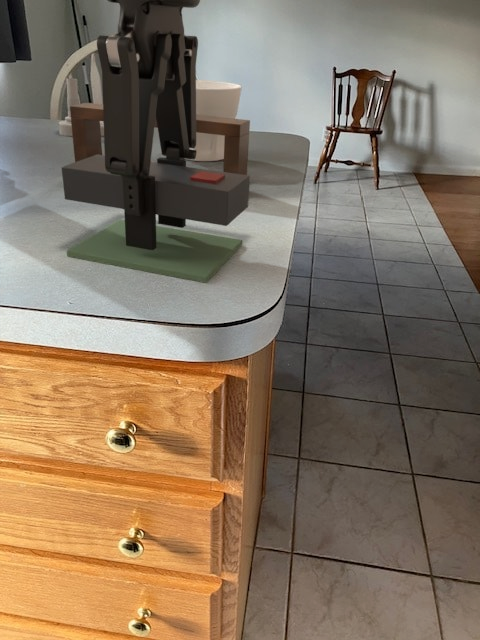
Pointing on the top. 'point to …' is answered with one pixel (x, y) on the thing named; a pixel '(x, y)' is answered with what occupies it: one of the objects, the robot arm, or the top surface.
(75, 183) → the remote
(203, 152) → the cup
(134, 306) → the top surface
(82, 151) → the brown wooden arch
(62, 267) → the top surface
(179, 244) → the mat
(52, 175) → the top surface
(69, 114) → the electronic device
